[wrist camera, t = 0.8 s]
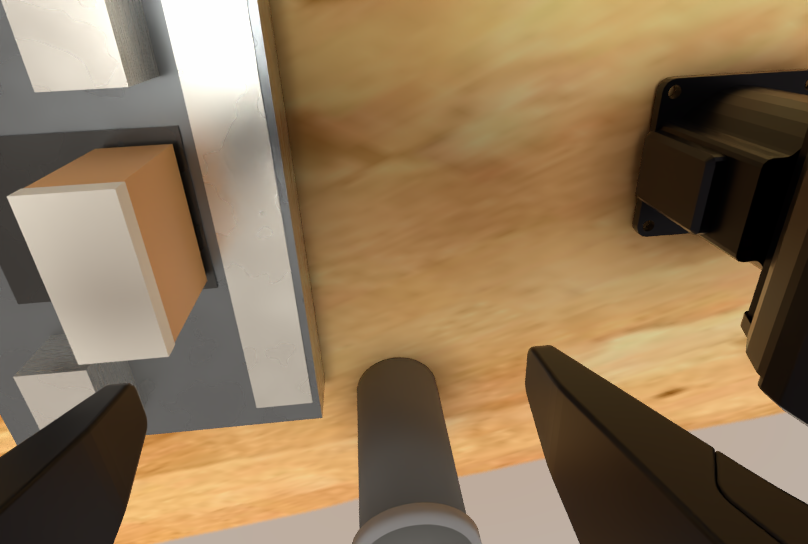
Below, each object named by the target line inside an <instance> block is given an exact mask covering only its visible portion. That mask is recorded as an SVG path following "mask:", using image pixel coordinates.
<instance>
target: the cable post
mask: <svg viewBox="0 0 808 544" xmlns="http://www.w3.org/2000/svg"><path fill="white" fill-rule="evenodd" d="M357 411H358V467H359V522H360V529H359V531H358V532H357V534H356V535H355V537H354V540H353V542H352V544H482V543H481V539H480V535H479V531H478V528H477V526H476V524H475V523H474V521H473V520H472V519H471V518H470V517H469V516H468V515H467V514H466V511H465V507H464V503H463V498H462V494H461V490H460V485H459V481H458V476H457V472H456V468H455V463H454V459H453V455H452V450H451V446H450V441H449V437H448V433H447V428H446V424H445V420H444V415H443V411H442V407H441V402H440V398H439V393H438V389H437V385H436V381H435V378H434V375H433V374H432V372H431V371H430V370H429V369H428V368H427V367H426V366H425V365H423V364H422V363H420V362H418V361H416V360H412V359H408V358H391V359H387V360H383V361H381V362H378V363H376V364H374V365H373V366H371V367H370V368H369V369H368V370H367V371H366V372H365V373H364V374H363V375H362V377H361V378H360V380H359V383H358V387H357Z"/></svg>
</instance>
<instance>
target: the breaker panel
mask: <svg viewBox="0 0 808 544" xmlns="http://www.w3.org/2000/svg"><path fill="white" fill-rule="evenodd" d="M162 144H173V148H174V152H175V156H176V160H177V164H178V168H179V172H180V176H181V180H182V184H183V188H184V192H185V196H186V199H187V203H188V207H189V211H190V215H191V219H192V223H193V227H194V231H195V235H196V239H197V243H198V247H199V251H200V254H201V258H202V262H203V266H204V270H205V274H206V278H207V282H206V284H205V286H204V288H203V289H202V291H201V293H200V295H199V297H198V299H197V301H196V303H195V305H194V307H193V308H192V310H191V312H190V314H189V316H188V318H187V320H186V322H185V324H184V326H183V327H182V329H181V331H180V333H179V335H178V337H177V339H176V341H175V346H174V348H173V350H172V352H171V354H170V355H169V357H160V358H149V359H138V360H127V361H116V362H104V363H93V364H82V365H78V363H77V360H76V358H75V356H74V353H73V351H72V349H71V346H70V344H69V342H68V339H67V337H66V334H65V332H64V330H63V327H62V325H61V323H60V320H59V318H58V316H57V313H56V311H55V309H54V306H53V304H52V302H51V299H50V297H49V295H48V292H47V290H46V288H45V285H44V283H43V281H42V278H41V276H40V274H39V271H38V269H37V266H36V264H35V262H34V259H33V257H32V255H31V252H30V250H29V248H28V245H27V243H26V241H25V238H24V236H23V234H22V231H21V229H20V227H19V224H18V222H17V220H16V217H15V215H14V213H13V210H12V208H11V206H10V203H9V201H8V198H7V196H8V195H10V194H12V193H14V192H16V191H17V190H19V189H21V188H25V187H27V186H28V185H30V184H32V183H34V182H36V181H37V180H39V179H41V178H43V177H45V176H47V175H48V174H50V173H52V172H54V171H56V170H57V169H59V168H61V167H63V166H65V165H67V164H68V163H70V162H72V161H74V160H76V159H77V158H79V157H81V156H83V155H85V154H86V153H88V152H90V151H92V150H94V149H100V148H115V147H131V146H147V145H162ZM118 383H131V384H133V385H134V386H135V387H136V389H137V392H138V394H139V397H140V400H141V403H142V405H143V408H144V411H145V413H146V416H147V432H146V435H152V434H162V433H172V432H182V431H192V430H203V429H213V428H223V427H233V426H243V425H253V424H263V423H274V422H284V421H294V420H304V419H314V418H322V415H323V400H324V386H325V379H324V372H323V366H322V359H321V352H320V345H319V338H318V332H317V325H316V318H315V311H314V304H313V298H312V291H311V284H310V277H309V270H308V264H307V257H306V250H305V243H304V236H303V230H302V223H301V216H300V209H299V202H298V196H297V189H296V182H295V175H294V168H293V162H292V155H291V148H290V141H289V134H288V128H287V121H286V114H285V107H284V100H283V94H282V87H281V80H280V73H279V66H278V60H277V53H276V46H275V39H274V32H273V26H272V19H271V12H270V5H269V0H0V415H1V417H2V418H3V420H4V422H5V424H6V426H7V428H8V429H9V431H10V433H11V435H12V437H13V439H14V440H15V442H16V444H17V445H19V444H20V443H22V442H23V441H25V440H26V439H28V438H29V437H31V436H32V435H33V434H35V433H36V432H38V431H39V430H41V429H42V428H44V427H45V426H47V425H48V424H50V423H51V422H53V421H54V420H56V419H57V418H59V417H60V416H62V415H63V414H65V413H66V412H67V411H69V410H70V409H72V408H73V407H75V406H76V405H78V404H79V403H81V402H82V401H84V400H85V399H87V398H88V397H90V396H91V395H93V394H94V393H96V392H97V391H98V390H100V389H101V388H103V387H104V386H106V385H109V384H118Z"/></svg>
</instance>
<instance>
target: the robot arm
mask: <svg viewBox="0 0 808 544" xmlns="http://www.w3.org/2000/svg"><path fill="white" fill-rule="evenodd" d="M807 80H808V69H795V70H778V71H761V72H744V73H727V74H710V75H694V76H677V77H669V78H666V79H665V80H663V81H662V82H661V83H660V85H659V86H658V89H657V92H656V97H655V103H654V108H653V114H652V120H651V125H650V131H649V134H648V135H647V136H646V138H645V142H644V148H643V154H642V159H641V165H640V171H639V176H638V182H637V188H636V196H637V197H638V198H637V203H636V209H635V214H634V220H633V228H634V230H635V231H636V232H637V233H639V234H640V235H641V236H646V237H648V236H660V235H673V234H686V233H691V234H693V235H699V236H701V237H702V238H704V239H705V240H707V241H708V242H710V243H711V244H713V245H714V246H716V247H717V248H719V249H720V250H722V251H724V252H725V253H727V254H728V255H730V256H731V257H733V258H734V259H736V260H737V261H740V262H750V263H752V264H753V265H755V266H756V267H758V268H759V269H761V270H762V271H761V274H760V277H759V280H758V283H757V287H756V290H755V293H754V296H753V299H752V302H751V305H750V308H749V311H746V312H745V313H744V316H743V319H742V322H741V328H742V330H743V331H744V333H745V335H746V337H747V344H746V354H747V355H748V357H749V359H750V361H751V363H752V365H753V366H754V368H755V370H756V372H757V373H758V374H759V375H760V379H759V381H758V386H759V388H760V389H761V390H762V391H763V392H764V393H765V394H766V395H767V396H768V397H769V398H770V399H771V400H773V401H774V402H775V403H776V404H777V405H778V406H779V407H780V408H782V409H783V410H784V411H785V412H787V413H788V414H790V415H792V416H793V417H794V418H796V419H797V420H799V421H801V422H802V423H803V424H805V425H806V426H808V86H806V87H805V83H806V81H807ZM672 86H675V92H674V94H673V95H672V96H671V97H669V96H668V92H669V90H670V88H671V87H672ZM649 220H650V222H649V225H648V226H646V227H644V228H643V225H644V223H645V222H646V221H649ZM525 387H526V394H527V397H528V401H529V404H530V408H531V411H532V415H533V418H534V421H535V425H536V428H537V432H538V435H539V439H540V442H541V446H542V449H543V453H544V456H545V459H546V462H547V466H548V468H549V471H550V473H551V476H552V479H553V481H554V483H555V486H556V488H557V490H558V493H559V495H560V498H561V500H562V503H563V505H564V507H565V510H566V512H567V514H568V517H569V519H570V522H571V524H572V526H573V529H574V531H575V533H576V536H577V538H578V541H579V543H580V544H808V504H806V503H805V502H803V501H801V500H799V499H797V498H796V497H794V496H792V495H790V494H788V493H787V492H785V491H783V490H782V489H780V488H778V487H776V486H774V485H773V484H771V483H770V482H768V481H766V480H765V479H763V478H761V477H760V476H758V475H756V474H755V473H753V472H751V471H750V470H748V469H746V468H745V467H743V466H742V465H740V464H738V463H737V462H735V461H734V460H732V459H731V458H729V457H727V456H726V455H724V454H723V453H721V452H719V451H716V452H715V450H714V448H713V447H711V446H710V445H708V444H707V443H705V442H703V441H702V440H700V439H699V438H697V437H696V436H694V435H692V434H691V433H689V432H688V431H686V430H684V429H683V428H681V427H680V426H678V425H677V424H675V423H673V422H672V421H670V420H669V419H667V418H666V417H664V416H662V415H661V414H659V413H658V412H656V411H654V410H653V409H651V408H650V407H648V406H647V405H645V404H643V403H642V402H640V401H639V400H637V399H636V398H634V397H632V396H631V395H629V394H628V393H626V392H624V391H623V390H621V389H620V388H618V387H617V386H615V385H613V384H612V383H610V382H609V381H607V380H606V379H604V378H602V377H601V376H599V375H598V374H596V373H594V372H593V371H591V370H590V369H588V368H587V367H585V366H583V365H582V364H580V363H579V362H577V361H575V360H574V359H572V358H571V357H569V356H568V355H566V354H564V353H563V352H561V351H560V350H558V349H557V348H555V347H553V346H551V345H545V346H534V347H531V348H530V349H529V351H528V354H527V366H526V378H525ZM146 432H147V416H146V413H145V411H144V408H143V405H142V403H141V400H140V397H139V394H138V392H137V389H136V387H135V386H134V385H133V384H131V383H118V384H109V385H106V386H104V387H103V388H101V389H100V390H98V391H97V392H96V393H94V394H93V395H91V396H90V397H88V398H87V399H85V400H84V401H82V402H81V403H79V404H78V405H76V406H75V407H73V408H72V409H70V410H69V411H67V412H66V413H65V414H63V415H62V416H60V417H59V418H57V419H56V420H54V421H53V422H51V423H50V424H48V425H47V426H45V427H44V428H42V429H41V430H39V431H38V432H36V433H35V434H33V435H32V436H31V437H29V438H28V439H26V440H25V441H23V442H22V443H20V444H19V445H17V446H16V447H14V448H13V449H11V450H10V451H8V452H7V453H5V454H4V455H2V456H1V457H0V544H113V543H114V540H115V538H116V535H117V533H118V530H119V527H120V525H121V522H122V519H123V516H124V513H125V511H126V507H127V504H128V500H129V497H130V493H131V489H132V486H133V482H134V478H135V474H136V470H137V466H138V463H139V459H140V455H141V451H142V447H143V443H144V440H145V436H146Z"/></svg>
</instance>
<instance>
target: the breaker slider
mask: <svg viewBox="0 0 808 544" xmlns="http://www.w3.org/2000/svg"><path fill="white" fill-rule="evenodd" d="M7 198H8V201H9V203H10V206H11V208H12V210H13V213H14V215H15V217H16V220H17V222H18V224H19V227H20V229H21V231H22V234H23V236H24V238H25V241H26V243H27V245H28V248H29V250H30V252H31V255H32V257H33V259H34V262H35V264H36V266H37V269H38V271H39V274H40V276H41V278H42V281H43V283H44V285H45V288H46V290H47V292H48V295H49V297H50V299H51V302H52V304H53V306H54V309H55V311H56V313H57V316H58V318H59V320H60V323H61V325H62V327H63V330H64V332H65V334H66V337H67V339H68V342H69V344H70V346H71V349H72V351H73V353H74V356H75V358H76V360H77V363H78V365H82V364H93V363H104V362H116V361H127V360H138V359H149V358H160V357H169V355H170V354H171V352H172V350H173V348H174V346H175V341H176V339H177V337H178V335H179V333H180V331H181V329H182V327H183V326H184V324H185V322H186V320H187V318H188V316H189V314H190V312H191V310H192V308H193V307H194V305H195V303H196V301H197V299H198V297H199V295H200V293H201V291H202V289H203V288H204V286H205V284H206V282H207V278H206V274H205V270H204V266H203V262H202V258H201V254H200V251H199V247H198V243H197V239H196V235H195V231H194V227H193V223H192V219H191V215H190V211H189V207H188V203H187V199H186V196H185V192H184V188H183V184H182V180H181V176H180V172H179V168H178V164H177V160H176V156H175V152H174V148H173V144H162V145H147V146H131V147H115V148H100V149H94V150H92V151H90V152H88V153H86V154H85V155H83V156H81V157H79V158H77V159H76V160H74V161H72V162H70V163H68V164H67V165H65V166H63V167H61V168H59V169H57V170H56V171H54V172H52V173H50V174H48V175H47V176H45V177H43V178H41V179H39V180H37V181H36V182H34V183H32V184H30V185H28V186H27V187H25V188H21V189H19V190H17V191H16V192H14V193H12V194H10V195H8V196H7Z"/></svg>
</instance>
